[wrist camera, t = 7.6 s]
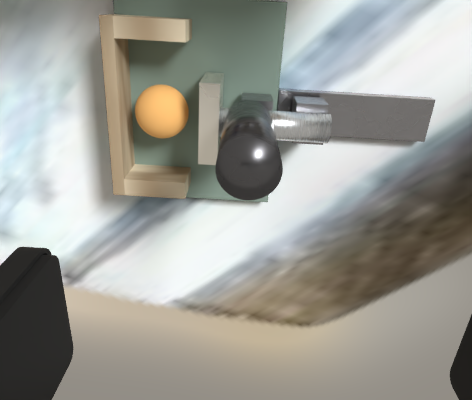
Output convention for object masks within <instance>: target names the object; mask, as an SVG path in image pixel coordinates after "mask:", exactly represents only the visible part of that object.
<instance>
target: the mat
mask: <svg viewBox="0 0 472 400" xmlns="http://www.w3.org/2000/svg"><path fill="white" fill-rule="evenodd" d="M113 4H114V14H119V15H135V16H152V17H168V18H185V19H192V39H191V40H189V41H187V42H169V41H153V40H136V39H128V49H129V67H130V85H131V103H132V121H133V139H134V157H135V164H142V165H159V166H175V167H191V183H190V186H189V189H188V192H187V195H186V197H190V198H207V199H223V200H240V201H256V202H268V195H267V196H265V197H263V198H260V199H257V200H241V199H237V198H235V197H233V196H231V195H229V194H228V193H227V192H225V191H224V190H223V188H222V187H221V186H220V184H219V182H218V180H217V177H216V172H215V167H216V165H205V164H198V139H199V82H200V81H201V79H202V78H203V76H204V75H205V73H206V72H211V73H224V83H223V108H231V107H232V106H233V105H234V104H235V103H237V102H239V101H242V93H257V94H271V95H272V98H273V111H277V101H278V90H279V80H280V70H281V60H282V50H283V40H284V29H285V19H286V9H287V2H277V1H260V0H113ZM161 84H162V85H168V86H171V87H173V88H175V89H177V90H178V91H179V92H180V93H181V94H182V95H183V97H184V98H185V100H186V102H187V105H188V111H189V115H188V120H187V123H186V125H185V127H184V128H183V129H182V131H181V132H179V133H178V134H177V135H175V136H173V137H170V138H156V137H153V136H151V135H149V134H147V133H146V132H145V131H144V130H143V129H142V128H141V127H140V126H139V124H138V122H137V119H136V116H135V105H136V102H137V99H138V97H139V96H140V94H141V93H142V92H143V91H144V90H145V89H147V88H149V87H151V86H154V85H161Z"/></svg>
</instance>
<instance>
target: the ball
mask: <svg viewBox="0 0 472 400" xmlns="http://www.w3.org/2000/svg"><path fill="white" fill-rule="evenodd" d="M188 115H189V111H188V105H187V102H186V100H185V98H184V97H183V95H182V94H181V93H180V92H179V91H178V90H177V89H175V88H173V87H171V86H168V85H162V84H161V85H154V86H151V87H149V88H147V89H145V90H144V91H143V92H142V93H141V94H140V96H139V97H138V99H137V102H136V105H135V116H136V119H137V122H138V124H139V126H140V127H141V128H142V129H143V130H144V131H145V132H146V133H147V134H149V135H151V136H153V137H156V138H170V137H173V136H175V135H177V134H178V133H179V132H181V131H182V129H183V128H184V127H185V125H186V123H187V120H188Z"/></svg>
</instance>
